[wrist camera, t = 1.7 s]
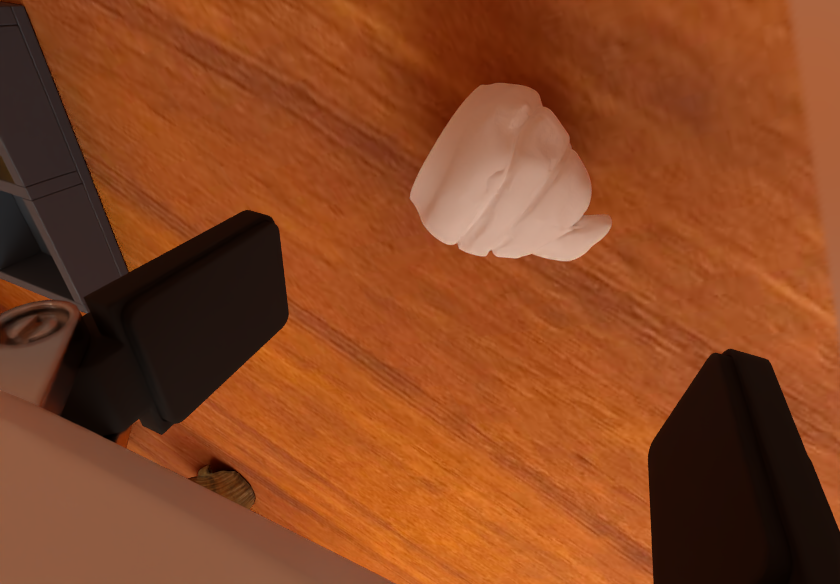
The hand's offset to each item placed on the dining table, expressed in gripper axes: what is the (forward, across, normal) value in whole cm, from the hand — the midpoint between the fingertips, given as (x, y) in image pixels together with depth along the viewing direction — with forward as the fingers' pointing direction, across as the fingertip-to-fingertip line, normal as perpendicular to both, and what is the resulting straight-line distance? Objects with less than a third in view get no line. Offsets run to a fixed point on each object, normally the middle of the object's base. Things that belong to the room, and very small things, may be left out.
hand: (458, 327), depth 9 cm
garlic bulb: (+10, 0, -1) cm, 10 cm away
